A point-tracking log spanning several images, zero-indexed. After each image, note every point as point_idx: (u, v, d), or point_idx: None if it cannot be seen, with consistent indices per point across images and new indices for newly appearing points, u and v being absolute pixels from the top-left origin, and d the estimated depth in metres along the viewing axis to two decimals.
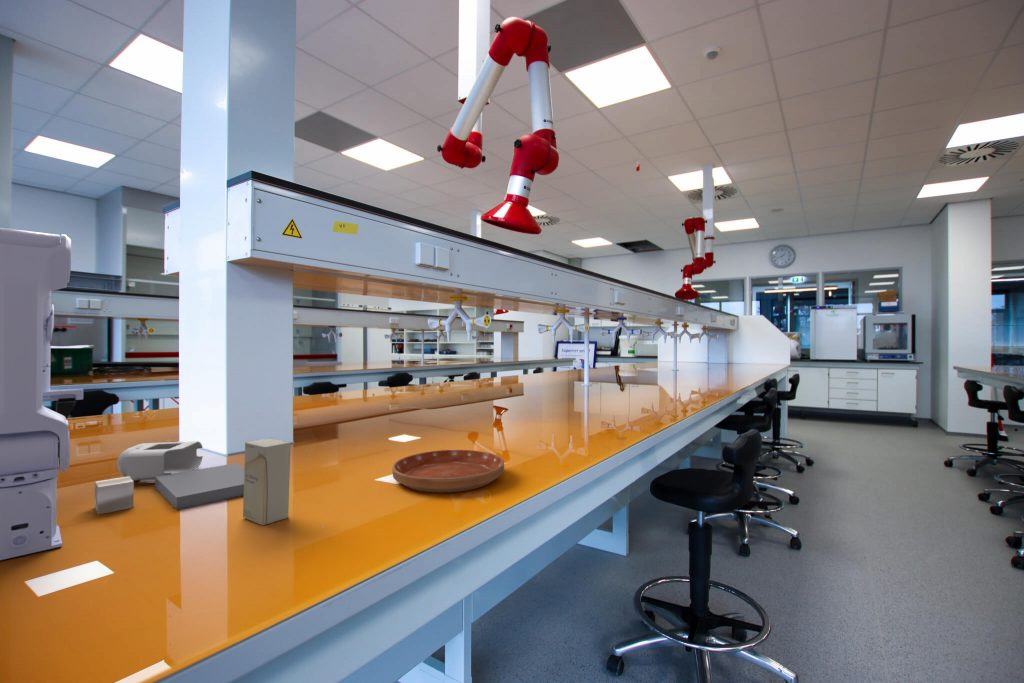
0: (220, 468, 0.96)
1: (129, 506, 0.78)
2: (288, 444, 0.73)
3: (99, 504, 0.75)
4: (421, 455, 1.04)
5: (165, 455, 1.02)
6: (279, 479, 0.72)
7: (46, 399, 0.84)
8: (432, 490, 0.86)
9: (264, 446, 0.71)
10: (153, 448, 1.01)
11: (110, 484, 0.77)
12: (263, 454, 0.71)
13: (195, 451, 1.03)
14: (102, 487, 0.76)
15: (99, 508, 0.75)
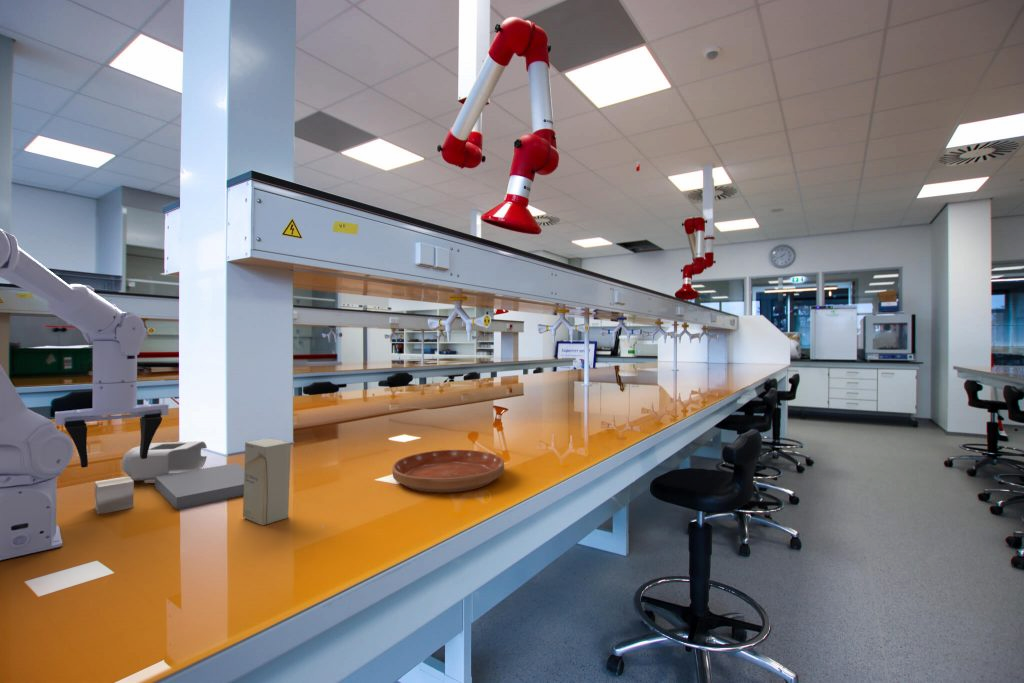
0: (220, 468, 0.96)
1: (129, 506, 0.78)
2: (288, 444, 0.73)
3: (99, 504, 0.75)
4: (421, 455, 1.04)
5: (169, 455, 1.02)
6: (279, 479, 0.72)
7: (133, 415, 0.80)
8: (432, 490, 0.86)
9: (264, 446, 0.71)
10: (157, 448, 1.01)
11: (110, 484, 0.77)
12: (263, 454, 0.71)
13: (199, 451, 1.03)
14: (102, 487, 0.76)
15: (99, 508, 0.75)
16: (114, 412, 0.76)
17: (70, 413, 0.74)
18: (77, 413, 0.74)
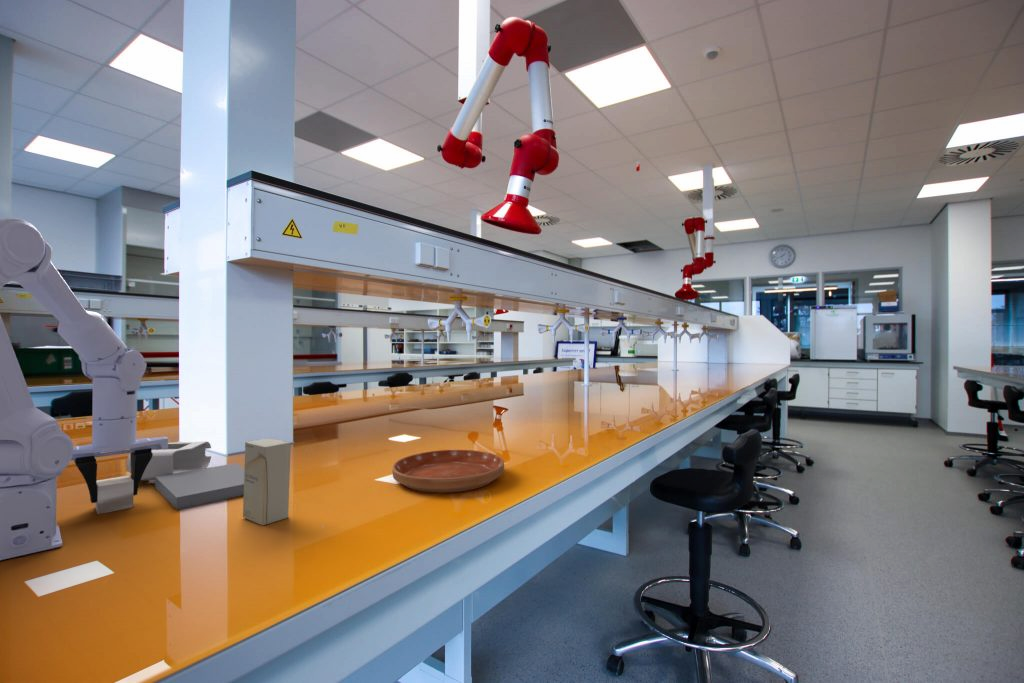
0: (220, 468, 0.96)
1: (129, 505, 0.78)
2: (288, 444, 0.73)
3: (99, 503, 0.75)
4: (421, 455, 1.04)
5: (174, 455, 1.02)
6: (279, 479, 0.72)
7: (132, 450, 0.80)
8: (432, 490, 0.86)
9: (264, 446, 0.71)
10: None
11: (110, 483, 0.77)
12: (263, 454, 0.71)
13: (204, 451, 1.03)
14: (102, 486, 0.76)
15: (99, 507, 0.75)
16: (114, 449, 0.76)
17: None
18: (77, 451, 0.74)
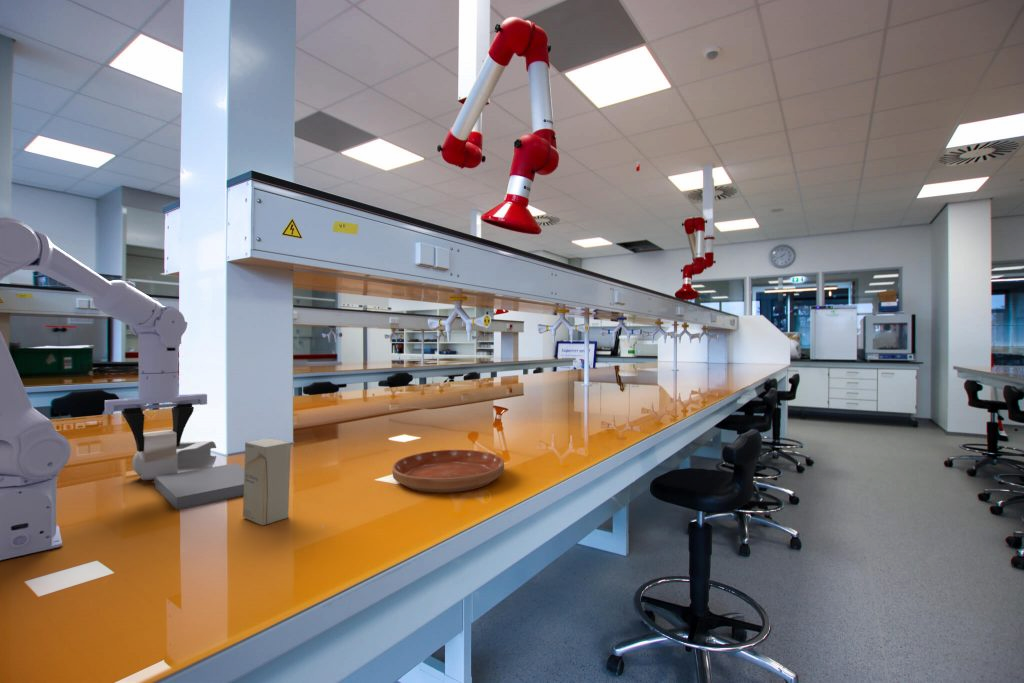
0: (220, 468, 0.96)
1: (172, 456, 0.83)
2: (288, 444, 0.73)
3: (146, 453, 0.80)
4: (421, 455, 1.04)
5: (180, 455, 1.02)
6: (279, 479, 0.72)
7: (175, 404, 0.85)
8: (432, 490, 0.86)
9: (264, 446, 0.71)
10: None
11: (155, 435, 0.81)
12: (263, 454, 0.71)
13: (209, 451, 1.03)
14: (148, 437, 0.80)
15: (146, 456, 0.80)
16: (159, 401, 0.81)
17: (119, 401, 0.78)
18: (125, 401, 0.78)
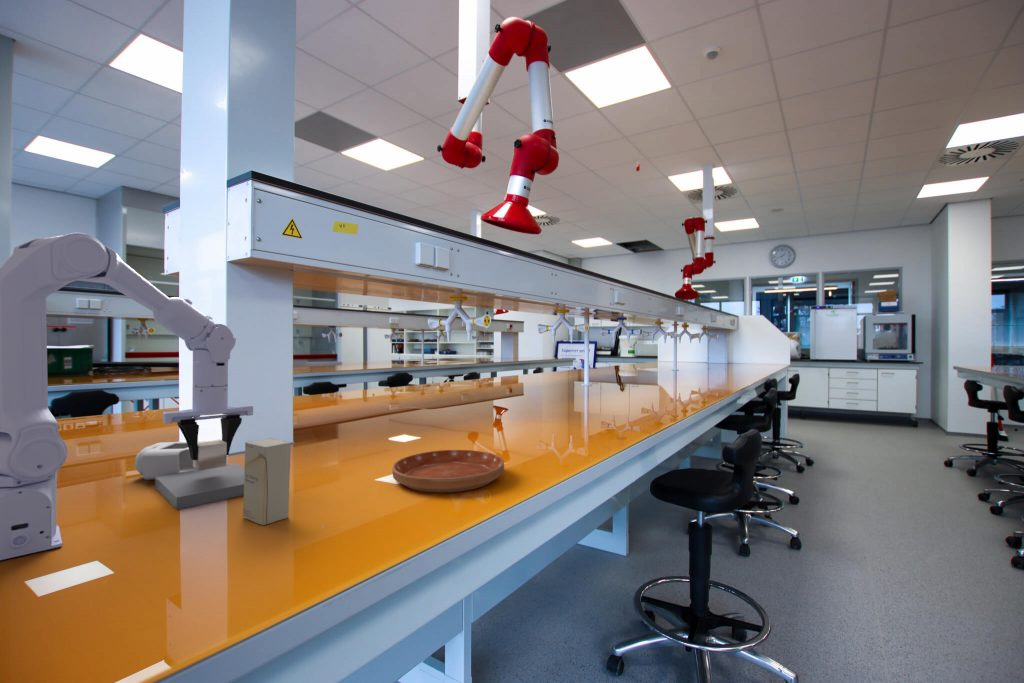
0: (220, 468, 0.96)
1: (223, 464, 0.89)
2: (288, 444, 0.73)
3: (200, 461, 0.86)
4: (421, 455, 1.04)
5: (182, 454, 1.03)
6: (279, 479, 0.72)
7: (224, 415, 0.90)
8: (432, 490, 0.86)
9: (264, 446, 0.71)
10: (171, 447, 1.02)
11: (208, 444, 0.87)
12: (263, 454, 0.71)
13: None
14: (202, 446, 0.86)
15: (200, 465, 0.86)
16: (212, 412, 0.86)
17: (176, 413, 0.84)
18: (182, 413, 0.84)
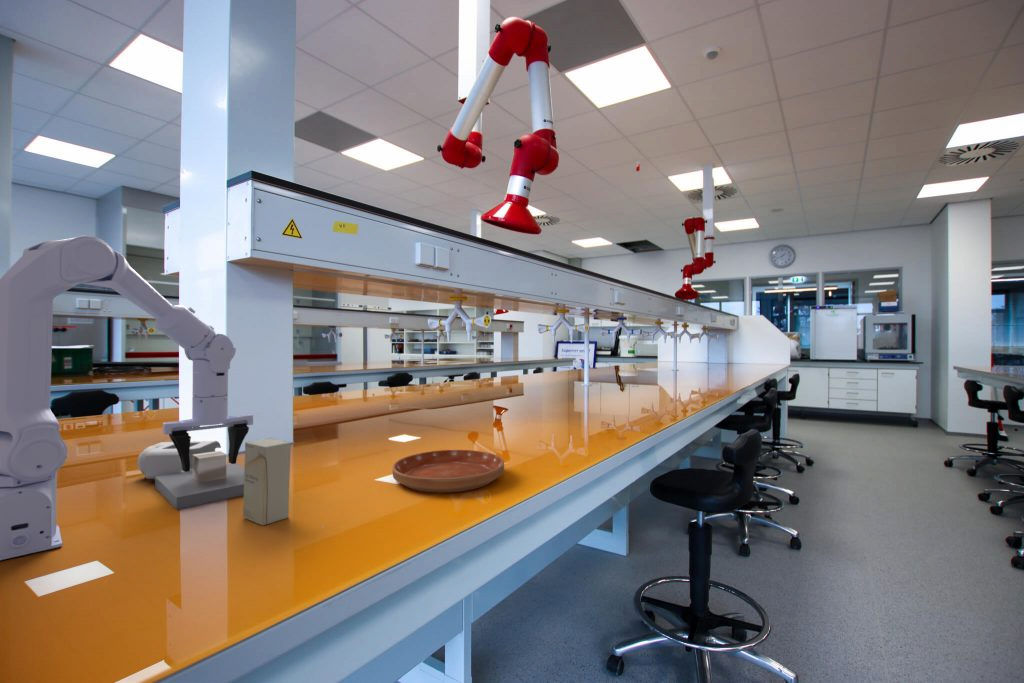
0: None
1: (223, 476, 0.88)
2: (288, 444, 0.73)
3: (199, 473, 0.86)
4: (421, 455, 1.04)
5: None
6: (279, 479, 0.72)
7: (224, 425, 0.90)
8: (432, 490, 0.86)
9: (264, 446, 0.71)
10: (173, 447, 1.02)
11: (207, 456, 0.87)
12: (263, 454, 0.71)
13: (214, 450, 1.04)
14: (202, 459, 0.86)
15: (199, 477, 0.86)
16: (212, 423, 0.86)
17: (176, 424, 0.84)
18: (182, 424, 0.84)
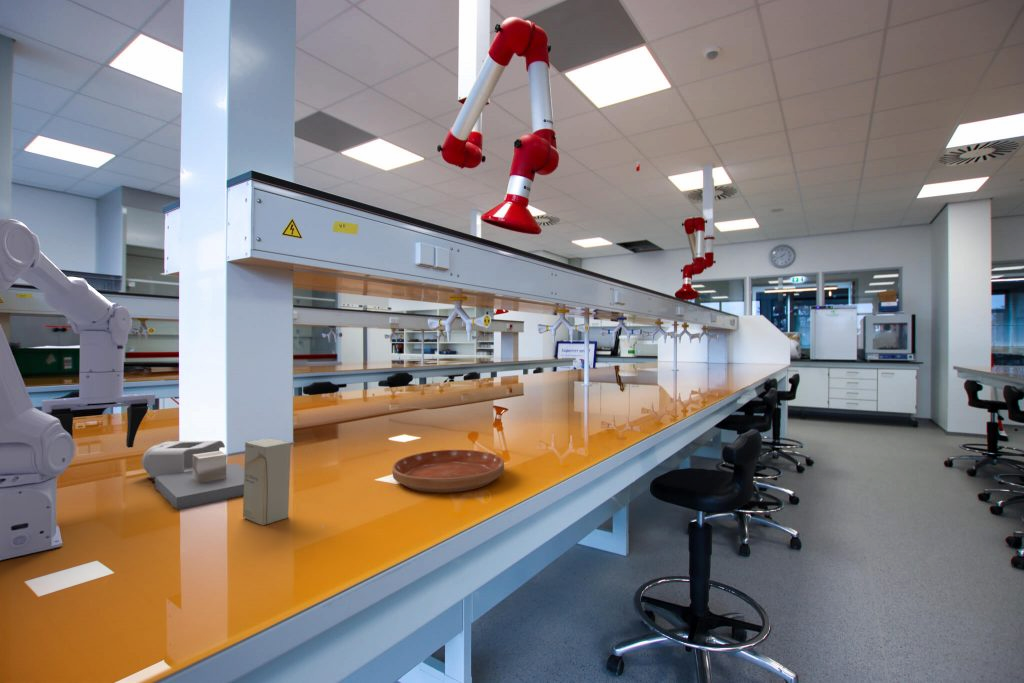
0: None
1: (223, 476, 0.88)
2: (288, 444, 0.73)
3: (199, 473, 0.86)
4: (421, 455, 1.04)
5: (190, 453, 1.04)
6: (279, 479, 0.72)
7: (119, 404, 0.81)
8: (432, 490, 0.86)
9: (264, 446, 0.71)
10: (179, 446, 1.03)
11: (207, 456, 0.87)
12: (263, 454, 0.71)
13: (218, 450, 1.04)
14: (202, 459, 0.86)
15: (199, 477, 0.86)
16: (100, 401, 0.78)
17: (56, 401, 0.75)
18: (63, 401, 0.75)
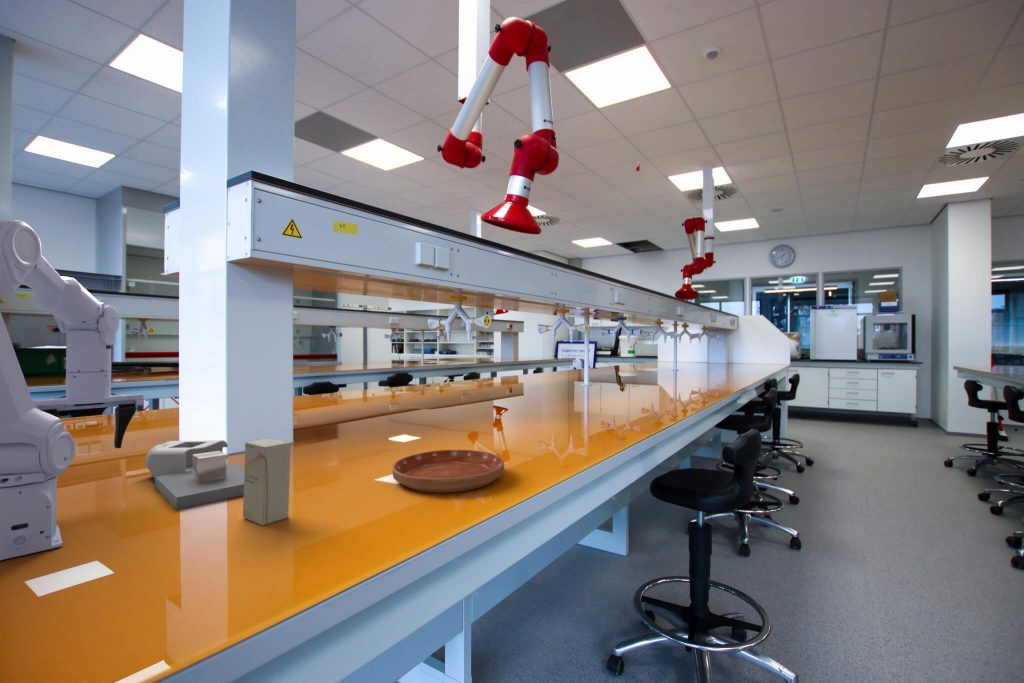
0: None
1: (223, 476, 0.88)
2: (288, 444, 0.73)
3: (199, 473, 0.86)
4: (421, 455, 1.04)
5: (194, 453, 1.04)
6: (279, 479, 0.72)
7: (107, 405, 0.81)
8: (432, 490, 0.86)
9: (264, 446, 0.71)
10: (183, 446, 1.04)
11: (207, 456, 0.87)
12: (263, 454, 0.71)
13: (221, 450, 1.04)
14: (202, 459, 0.86)
15: (199, 477, 0.86)
16: (87, 401, 0.77)
17: (42, 402, 0.74)
18: (49, 402, 0.75)
